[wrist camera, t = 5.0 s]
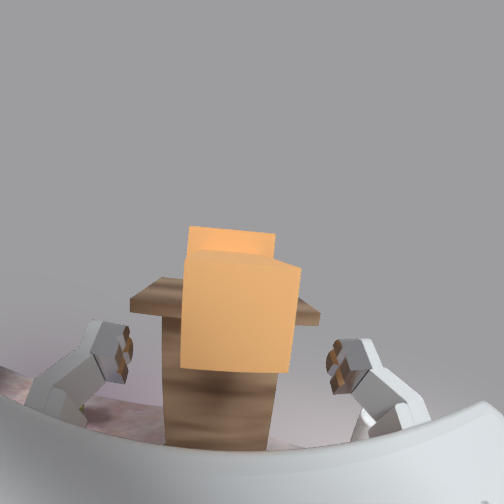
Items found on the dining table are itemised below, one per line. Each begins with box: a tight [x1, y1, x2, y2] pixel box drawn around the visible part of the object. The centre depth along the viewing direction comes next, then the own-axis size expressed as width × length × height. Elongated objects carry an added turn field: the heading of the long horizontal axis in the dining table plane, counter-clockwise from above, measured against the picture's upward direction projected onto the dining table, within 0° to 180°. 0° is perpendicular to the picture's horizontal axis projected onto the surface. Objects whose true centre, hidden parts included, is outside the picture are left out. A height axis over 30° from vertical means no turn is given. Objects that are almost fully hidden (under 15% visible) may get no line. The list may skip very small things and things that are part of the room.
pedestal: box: [130, 277, 320, 451], centre depth 26 cm, size 12×14×26 cm
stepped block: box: [180, 226, 301, 373], centre depth 19 cm, size 20×6×6 cm, turn 7°
